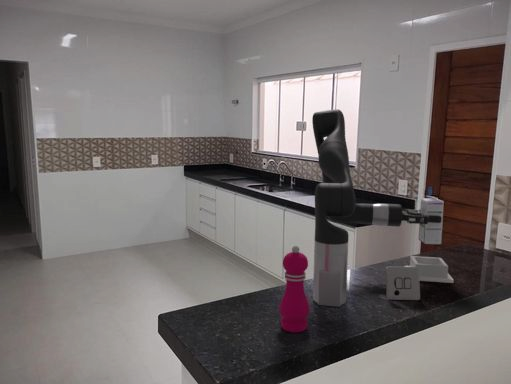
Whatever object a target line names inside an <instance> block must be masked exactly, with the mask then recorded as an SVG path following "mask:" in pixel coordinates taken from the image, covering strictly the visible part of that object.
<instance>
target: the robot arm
mask: <svg viewBox="0 0 511 384" xmlns="http://www.w3.org/2000/svg"><path fill="white" fill-rule="evenodd" d="M311 119H312V120H311V121H312V130H313V136H314V140H315V141H314V142H315V147H316V149H317V153H318V165H319V166H318V167H319V168H320V170H321V174H322V181H323V182H320V183H319V182H318V184H316V187H315V190H314V217H315V218H314V219H315V222H314V223H315V225H314V248H313V249H314V250H313V251H314V253H313V254H314V255H313V288H312V289H313V291H312V292H313V293H312V294H313V295H312V296H313V297H312V299H313V301H314V302H315V303H316V304H317V305H318V306H328V307H336V308H337V307H338V308H339V307H342V305H345V304H346V303H347V287H348V283H347V282H348V262H349V261H348V259H349V255H348V254H349V232H348V231H347V230H346V229H345V228H342V227H339V226H337V225H335V224H333V223H340V224H342V223H343V224H344V223H346V224H348V223H349V224H350V223H351V224H353V223H354V224H355V223H356V224H361V225H373V226H382V227H395V228H396V227H399V228H400V227H401V225H402V221H404V222H406V223H408V224H409V225H411V224H414V225H415V224H428V223H429V222H431V223H441V216H433V215H423V214H422V213H420V209H411V208H402V207H403V206H402V205H401V204H398V203H356V193H355V189H354V184H353V183H354V182H353V179H352V176H351V171H350V157H349V150H348V146H347V141H346V122H345V116H344V113H343V112H342V110H340V109H337V108H335V109H334V108H333V109H327V110H320V111H316V112H314V113H313V114H312V118H311ZM327 218H328V219H327ZM422 218H424V220H422ZM329 220H330V221H331V222H333V223H331V222H329Z"/></svg>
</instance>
